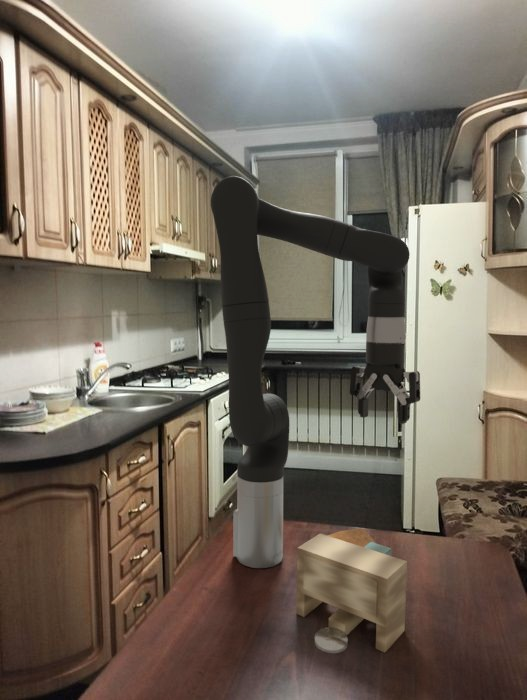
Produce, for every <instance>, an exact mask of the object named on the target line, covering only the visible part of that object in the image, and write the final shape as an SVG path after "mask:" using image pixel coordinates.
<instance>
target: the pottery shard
mask: <svg viewBox="0 0 527 700" xmlns="http://www.w3.org/2000/svg"><path fill="white" fill-rule="evenodd" d="M327 536H330V537H333V538H336V539H339V540H342V541H345V542H349V543H352V544H355V545H358V546H361V547H365V546H366V545H367V544H369V543H370V542H373V543H376V541H375V540H374V539H373V538H372V536H371V535H369V533H368V532H367V531H366V530H365V529H364V528H357V529H346V530H342V531H336V532H334V533H333V532H332V533H330V534H328V535H327ZM376 544H377V543H376Z"/></svg>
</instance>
